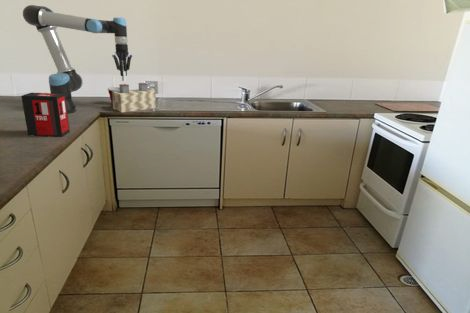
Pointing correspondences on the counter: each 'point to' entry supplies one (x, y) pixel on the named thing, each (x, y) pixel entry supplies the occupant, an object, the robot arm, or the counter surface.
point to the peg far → (143, 87)
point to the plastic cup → (112, 91)
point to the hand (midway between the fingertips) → (124, 80)
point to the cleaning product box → (46, 114)
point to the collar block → (133, 100)
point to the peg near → (124, 88)
